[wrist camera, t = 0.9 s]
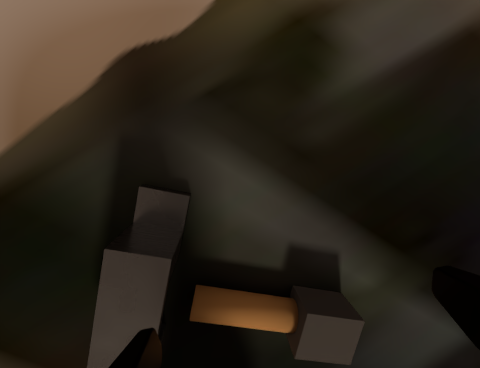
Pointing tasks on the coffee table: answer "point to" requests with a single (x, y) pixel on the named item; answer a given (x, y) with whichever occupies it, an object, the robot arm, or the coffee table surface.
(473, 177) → the coffee table surface
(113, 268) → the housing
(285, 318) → the plug
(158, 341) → the robot arm
